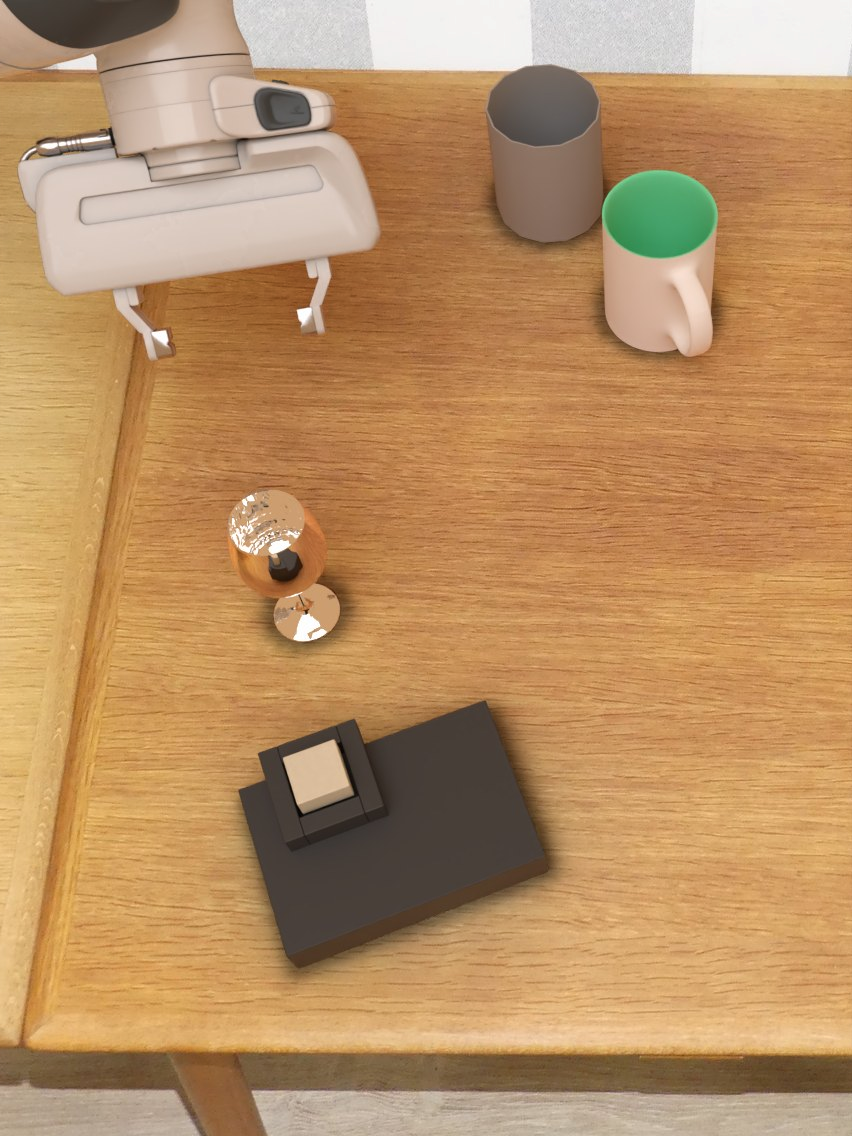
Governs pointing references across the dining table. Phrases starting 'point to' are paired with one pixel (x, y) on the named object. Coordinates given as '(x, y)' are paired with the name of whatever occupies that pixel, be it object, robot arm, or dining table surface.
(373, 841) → the button panel
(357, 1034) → the dining table surface
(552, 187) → the cup
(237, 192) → the robot arm
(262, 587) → the wineglass
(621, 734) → the dining table surface
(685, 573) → the dining table surface
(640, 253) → the mug
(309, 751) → the square button
